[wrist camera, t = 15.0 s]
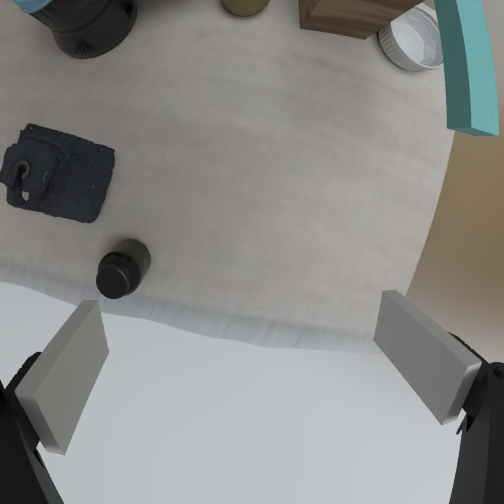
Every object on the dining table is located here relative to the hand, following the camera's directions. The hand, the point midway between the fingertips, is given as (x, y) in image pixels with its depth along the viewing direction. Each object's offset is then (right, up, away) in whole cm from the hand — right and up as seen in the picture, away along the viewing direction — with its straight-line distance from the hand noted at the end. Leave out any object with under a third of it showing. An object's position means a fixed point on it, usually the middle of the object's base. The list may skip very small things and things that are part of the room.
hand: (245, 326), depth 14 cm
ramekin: (+29, +42, +32) cm, 60 cm away
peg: (+17, +24, +4) cm, 30 cm away
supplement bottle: (-20, +2, +38) cm, 43 cm away
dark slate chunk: (-33, +16, +33) cm, 49 cm away
